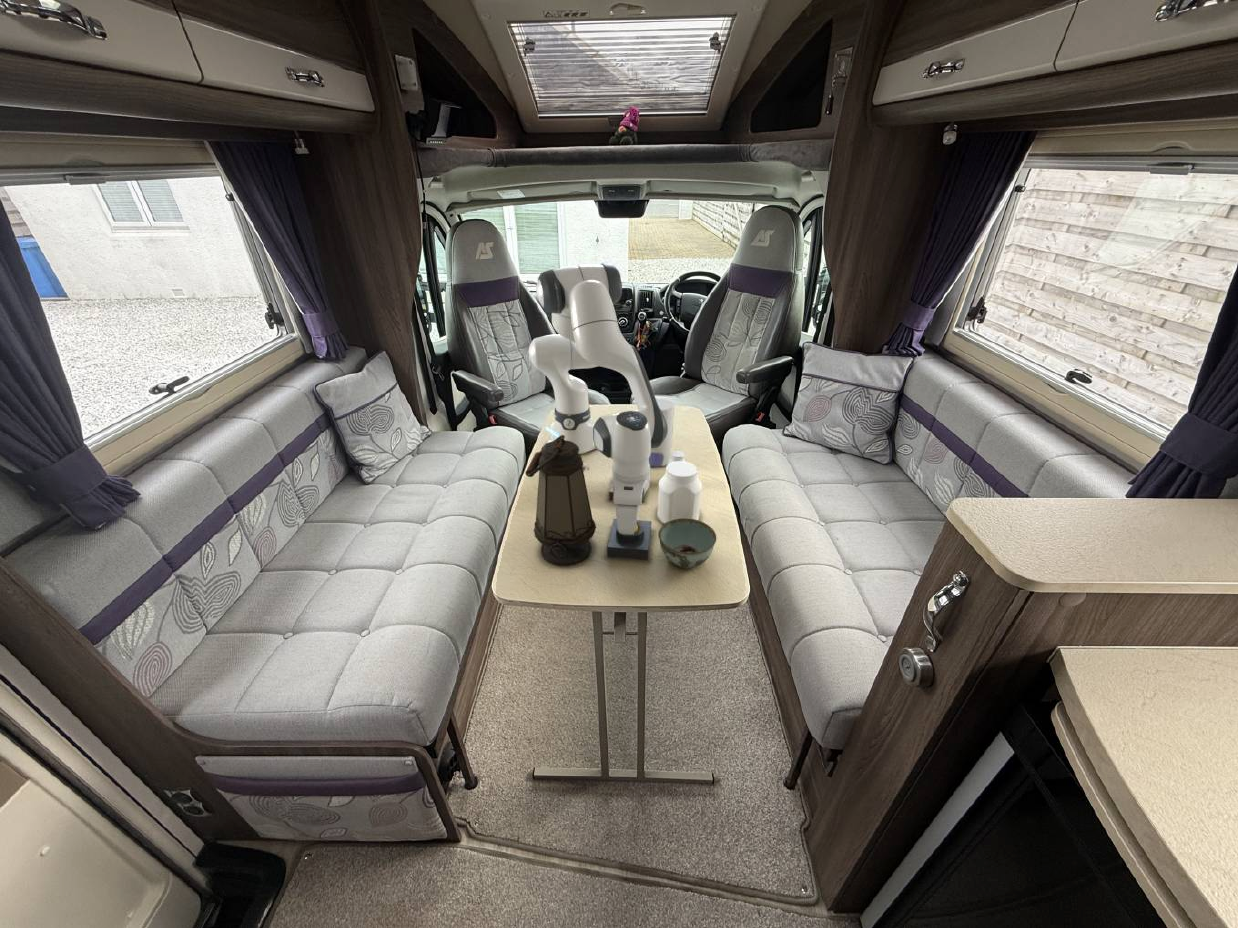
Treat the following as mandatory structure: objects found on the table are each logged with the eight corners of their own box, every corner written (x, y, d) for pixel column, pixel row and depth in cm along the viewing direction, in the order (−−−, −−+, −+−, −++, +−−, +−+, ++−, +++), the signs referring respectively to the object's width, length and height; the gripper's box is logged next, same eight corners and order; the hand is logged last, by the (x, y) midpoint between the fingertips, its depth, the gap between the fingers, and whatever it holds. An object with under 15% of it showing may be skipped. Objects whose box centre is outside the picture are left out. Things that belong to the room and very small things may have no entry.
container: (676, 459, 166) (680, 403, 157) (659, 470, 160) (662, 412, 150) (652, 450, 172) (655, 395, 162) (634, 460, 165) (636, 404, 156)
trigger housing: (613, 528, 133) (613, 512, 130) (651, 530, 132) (651, 515, 129) (607, 557, 122) (607, 540, 120) (647, 560, 121) (648, 544, 119)
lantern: (591, 576, 116) (587, 464, 102) (527, 571, 118) (514, 460, 103) (601, 529, 132) (599, 426, 118) (545, 525, 134) (536, 423, 119)
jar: (658, 525, 134) (661, 477, 126) (656, 505, 142) (658, 459, 135) (701, 525, 134) (706, 477, 126) (696, 505, 142) (700, 459, 135)
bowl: (689, 537, 129) (691, 511, 126) (725, 566, 120) (728, 539, 116) (646, 555, 123) (647, 529, 119) (680, 587, 113) (682, 560, 109)
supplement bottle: (683, 487, 151) (686, 458, 146) (666, 485, 152) (667, 457, 147) (685, 478, 155) (687, 450, 151) (668, 476, 156) (669, 448, 152)
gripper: (622, 457, 127) (622, 503, 134) (612, 501, 109) (612, 551, 116) (647, 459, 126) (645, 504, 133) (640, 503, 109) (639, 553, 115)
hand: (630, 526), depth 124 cm, fingers closed, pressing on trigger
